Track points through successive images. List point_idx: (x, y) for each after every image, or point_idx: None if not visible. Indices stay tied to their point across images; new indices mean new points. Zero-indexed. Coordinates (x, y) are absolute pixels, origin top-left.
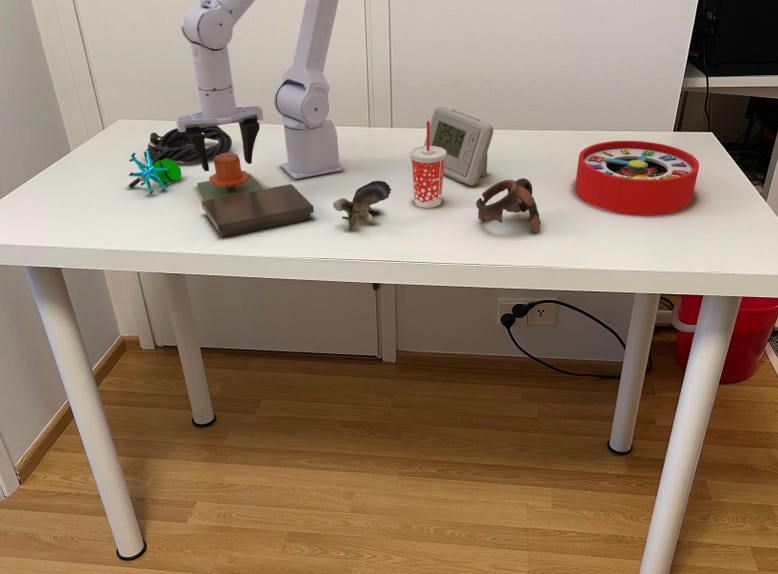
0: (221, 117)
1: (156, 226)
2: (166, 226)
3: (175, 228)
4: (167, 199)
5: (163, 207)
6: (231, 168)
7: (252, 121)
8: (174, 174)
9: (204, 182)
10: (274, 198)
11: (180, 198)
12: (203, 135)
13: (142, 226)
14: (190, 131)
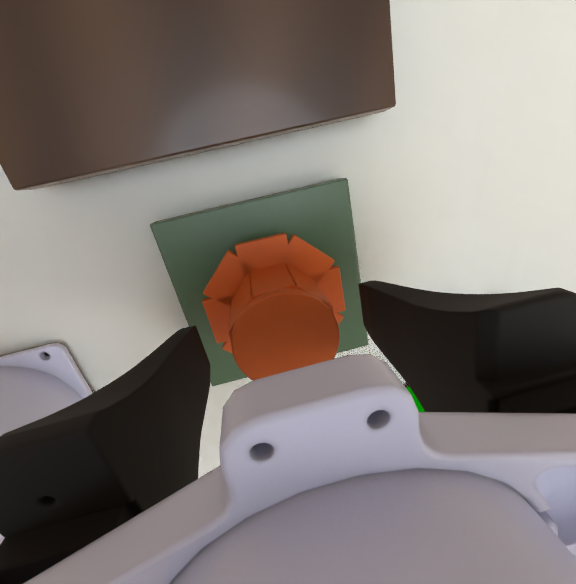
0: (368, 481)
1: (521, 63)
2: (495, 50)
3: (474, 16)
4: (448, 277)
5: (469, 221)
6: (267, 283)
7: (44, 533)
8: (417, 403)
9: (348, 343)
10: (73, 9)
11: (415, 276)
12: (485, 316)
13: (556, 80)
14: (573, 380)
